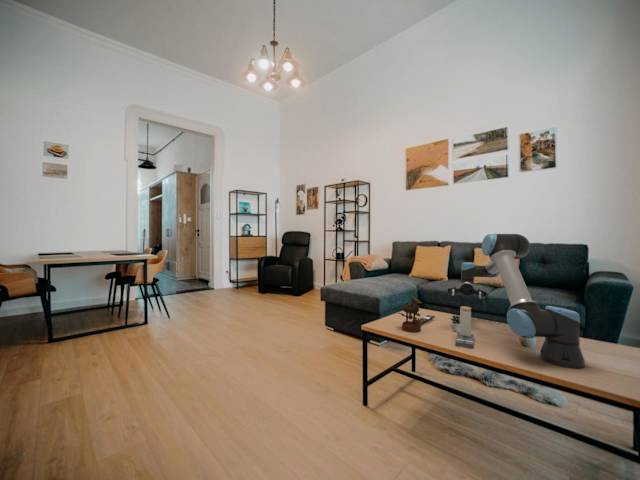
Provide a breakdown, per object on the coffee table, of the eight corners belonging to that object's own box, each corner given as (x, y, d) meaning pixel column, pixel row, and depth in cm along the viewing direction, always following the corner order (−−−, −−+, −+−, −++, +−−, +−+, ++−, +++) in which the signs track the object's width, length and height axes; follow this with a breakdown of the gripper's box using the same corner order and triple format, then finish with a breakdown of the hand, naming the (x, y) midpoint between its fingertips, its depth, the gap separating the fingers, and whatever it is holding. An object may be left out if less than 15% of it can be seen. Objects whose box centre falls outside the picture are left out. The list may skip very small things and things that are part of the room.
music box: (426, 330, 166) (426, 296, 165) (418, 336, 158) (417, 300, 157) (403, 324, 177) (402, 292, 176) (393, 329, 169) (393, 296, 168)
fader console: (457, 335, 157) (457, 331, 157) (473, 338, 154) (473, 334, 154) (455, 345, 142) (455, 341, 142) (473, 348, 138) (473, 344, 138)
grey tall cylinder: (460, 332, 156) (460, 305, 156) (470, 334, 153) (471, 307, 153) (459, 335, 151) (460, 307, 151) (470, 336, 148) (471, 309, 148)
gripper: (490, 296, 172) (492, 304, 153) (445, 292, 184) (441, 298, 165) (490, 284, 172) (492, 290, 153) (445, 280, 183) (442, 285, 165)
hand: (466, 294), depth 159 cm, fingers open, 13 cm apart
